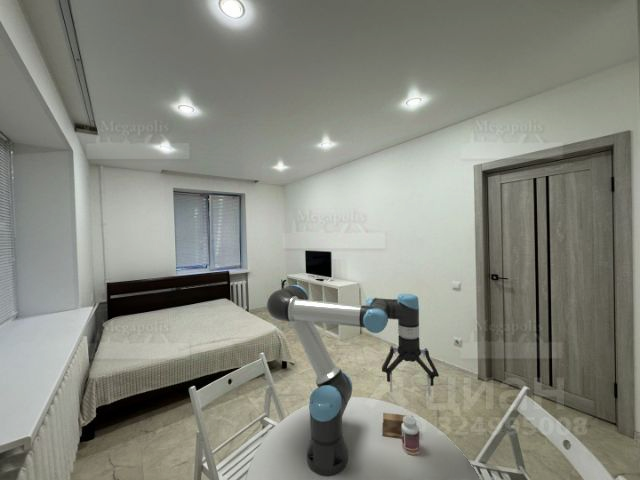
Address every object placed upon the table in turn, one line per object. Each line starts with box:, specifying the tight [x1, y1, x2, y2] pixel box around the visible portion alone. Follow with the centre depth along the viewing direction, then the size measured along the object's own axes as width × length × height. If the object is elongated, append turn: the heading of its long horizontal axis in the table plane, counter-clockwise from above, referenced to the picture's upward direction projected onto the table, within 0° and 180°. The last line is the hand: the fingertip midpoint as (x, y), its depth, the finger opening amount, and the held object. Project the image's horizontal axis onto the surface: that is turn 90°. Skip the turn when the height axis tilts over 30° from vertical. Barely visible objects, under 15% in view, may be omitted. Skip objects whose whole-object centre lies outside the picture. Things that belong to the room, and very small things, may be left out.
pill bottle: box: [401, 415, 420, 456], centre depth 100 cm, size 6×6×11 cm
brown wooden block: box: [381, 412, 414, 440], centre depth 108 cm, size 13×7×6 cm, turn 76°
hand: (409, 391), depth 100 cm, fingers open, 13 cm apart
